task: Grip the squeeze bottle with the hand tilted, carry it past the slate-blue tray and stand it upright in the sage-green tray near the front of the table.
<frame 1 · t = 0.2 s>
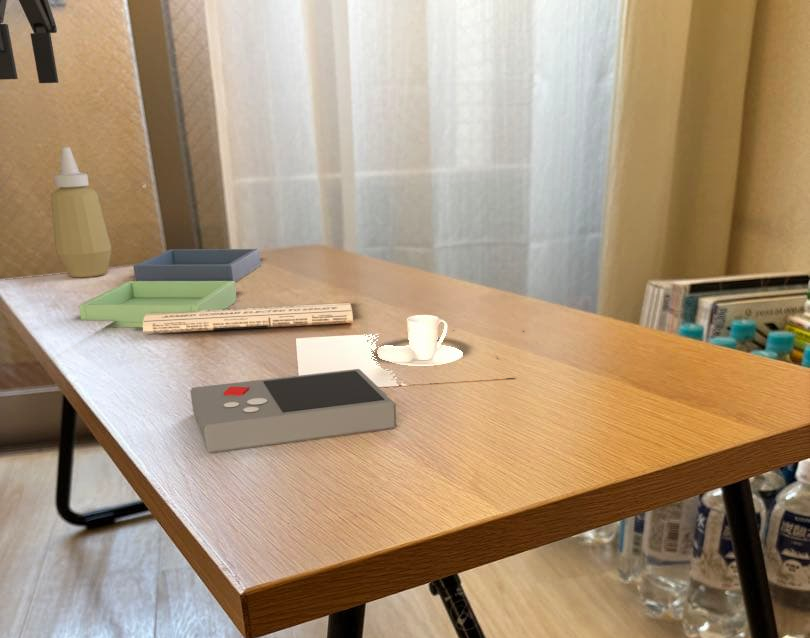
hand: (29, 81, 128), 27 cm above the table, tool pointing down, fingers open, 13 cm apart
blue tray: (200, 274, 135), on the table
electronic device: (291, 423, 74), on the table
green tray: (163, 313, 112), on the table
squeeze bottle: (88, 276, 137), on the table
newspaper: (250, 325, 105), on the table, touching green tray
teacup and saucer: (396, 358, 91), on the table
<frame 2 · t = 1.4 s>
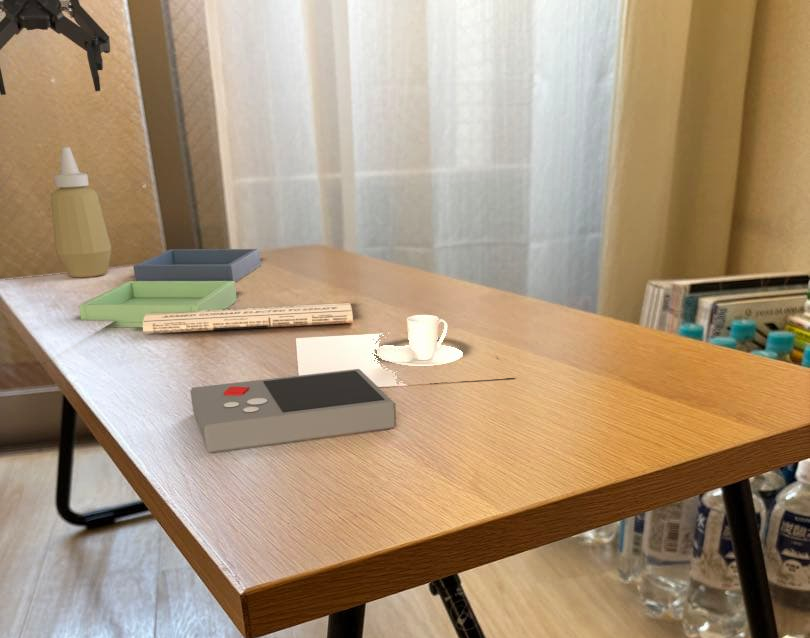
hand: (50, 86, 134), 26 cm above the table, tool tilted 45°, fingers open, 13 cm apart
nothing on the table moved.
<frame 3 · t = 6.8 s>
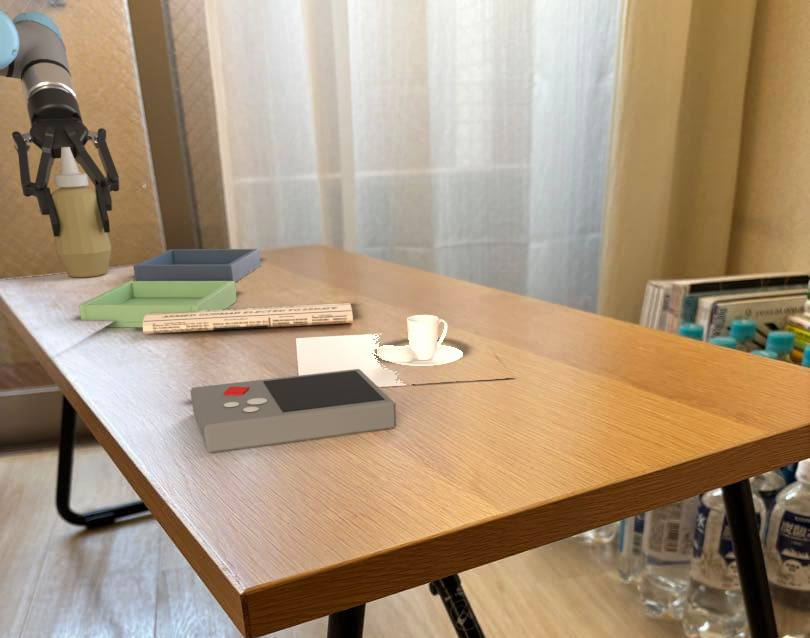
hand: (81, 228, 131), 7 cm above the table, tool tilted 45°, fingers closed on squeeze bottle, 6 cm apart
squeeze bottle: (88, 276, 137), on the table, touching gripper
everything else where it was.
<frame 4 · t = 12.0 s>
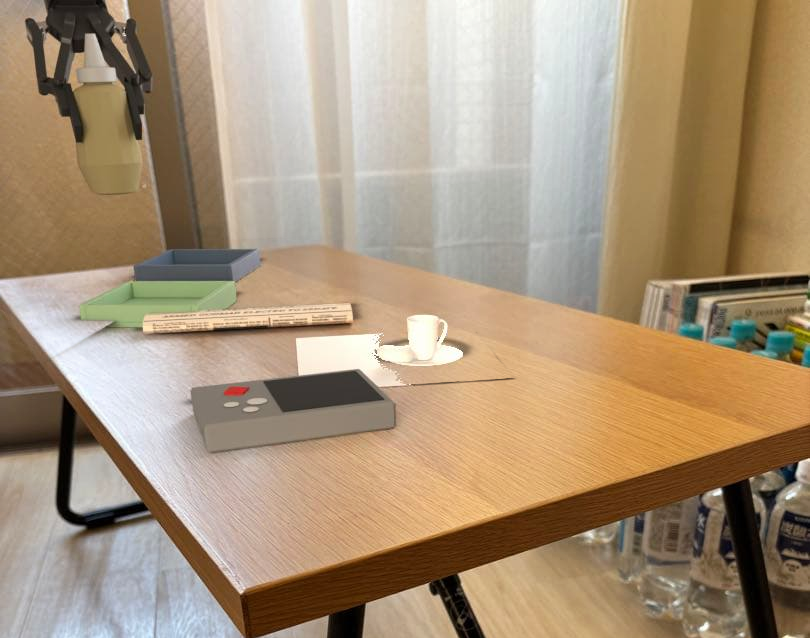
hand: (109, 132, 110), 20 cm above the table, tool tilted 45°, fingers closed on squeeze bottle, 6 cm apart
squeeze bottle: (115, 194, 116), point 13 cm above the table, touching gripper
everything else where it was.
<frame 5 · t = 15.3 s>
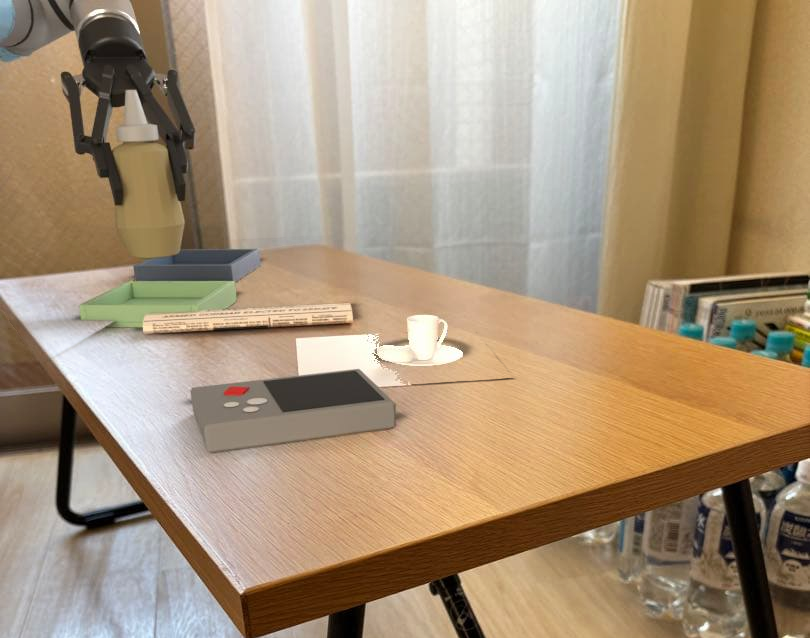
hand: (150, 194, 102), 14 cm above the table, tool tilted 45°, fingers closed on squeeze bottle, 6 cm apart
squeeze bottle: (155, 257, 109), point 7 cm above the table, touching gripper
everything else where it was.
when the fingers open (8 cm above the table, at t = 17.4 s): squeeze bottle stays where it is, resting on green tray.
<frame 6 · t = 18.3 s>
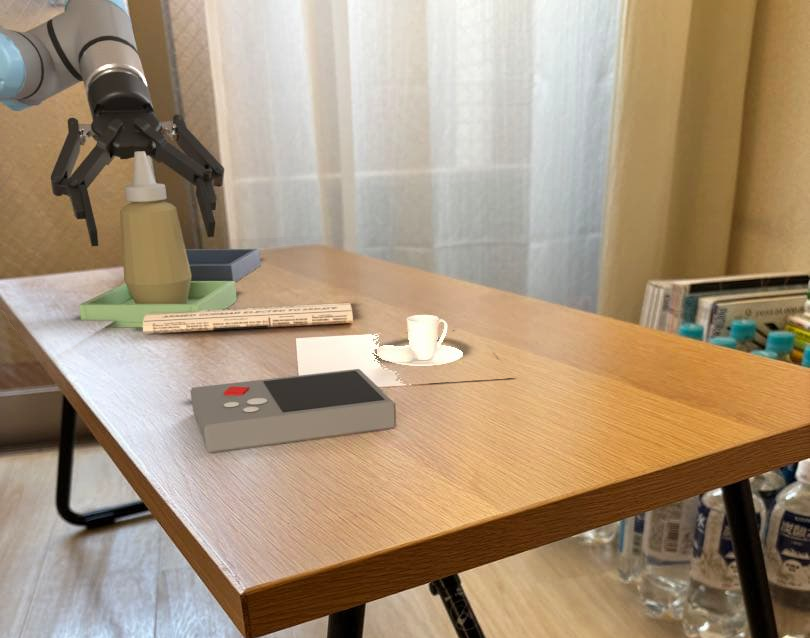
hand: (154, 234, 105), 10 cm above the table, tool tilted 45°, fingers open, 13 cm apart
squeeze bottle: (162, 310, 112), resting on green tray
everything else where it was.
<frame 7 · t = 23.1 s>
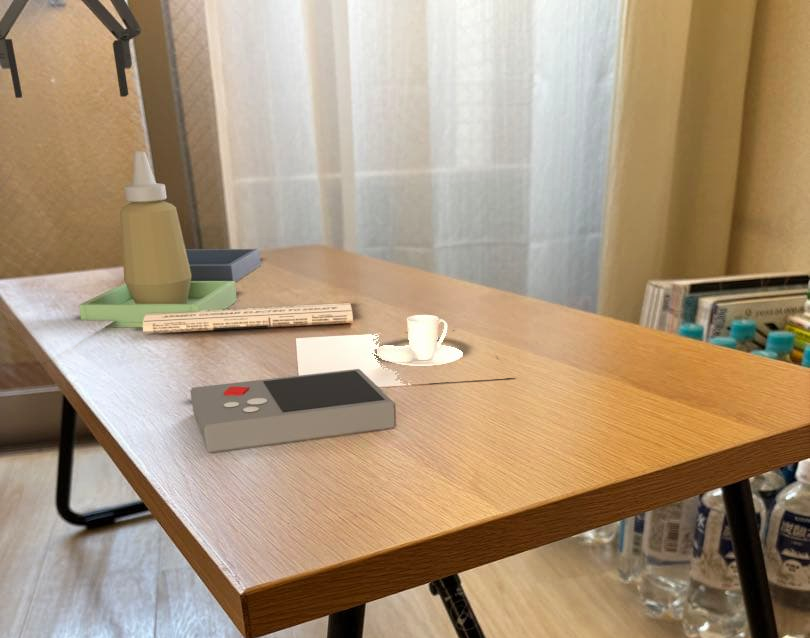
hand: (72, 96, 121), 25 cm above the table, tool pointing down, fingers open, 13 cm apart
nothing on the table moved.
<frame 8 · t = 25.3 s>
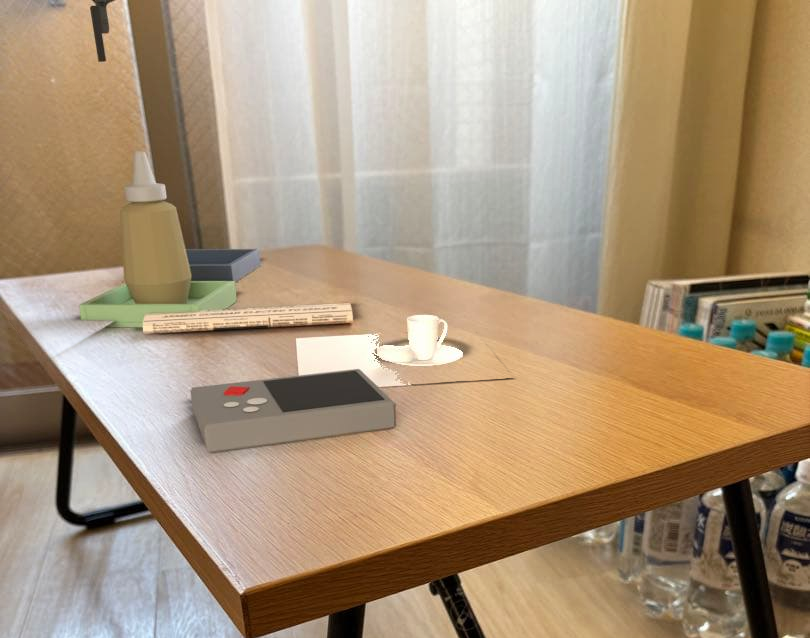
hand: (50, 62, 121), 29 cm above the table, tool pointing down, fingers open, 13 cm apart
nothing on the table moved.
at the end: squeeze bottle inside the target area in the green tray (0.1 cm from its centre), point 0.4 cm above the green tray's base; squeeze bottle tilted 0°; the gripper is holding nothing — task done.
